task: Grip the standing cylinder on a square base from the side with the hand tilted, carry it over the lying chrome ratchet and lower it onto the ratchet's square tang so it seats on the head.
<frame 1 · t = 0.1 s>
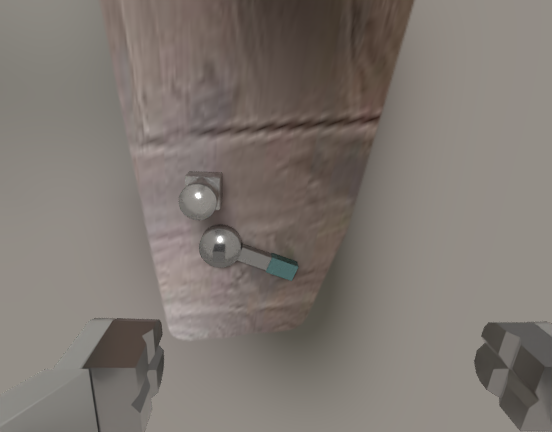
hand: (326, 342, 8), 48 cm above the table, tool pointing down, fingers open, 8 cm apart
ratchet: (221, 243, 59), on the table
cylinder on square base: (206, 187, 56), on the table
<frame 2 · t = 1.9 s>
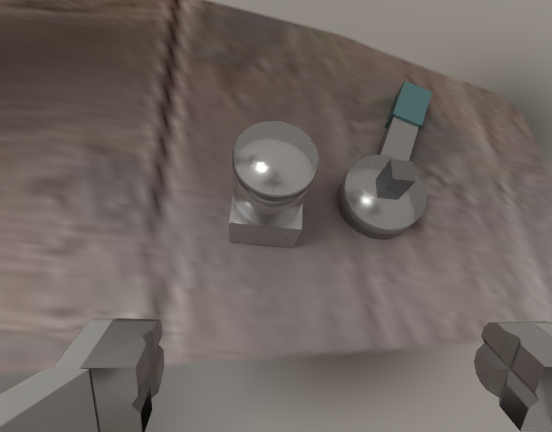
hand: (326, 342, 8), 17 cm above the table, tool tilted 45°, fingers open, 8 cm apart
ratchet: (375, 202, 30), on the table
cylinder on square base: (263, 216, 28), on the table
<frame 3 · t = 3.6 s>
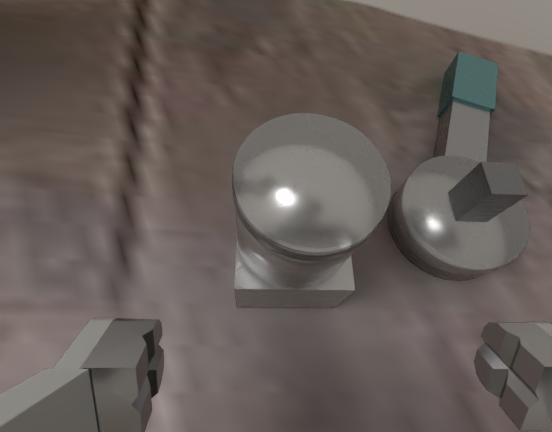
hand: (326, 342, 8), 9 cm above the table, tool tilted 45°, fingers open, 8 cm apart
ratchet: (443, 225, 21), on the table
cylinder on square base: (284, 261, 19), on the table
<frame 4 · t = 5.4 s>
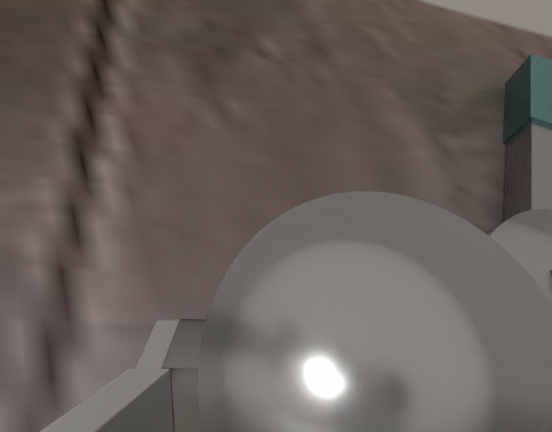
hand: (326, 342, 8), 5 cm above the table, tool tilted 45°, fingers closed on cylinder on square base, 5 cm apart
ratchet: (529, 308, 14), on the table
cylinder on square base: (299, 373, 12), on the table, touching gripper
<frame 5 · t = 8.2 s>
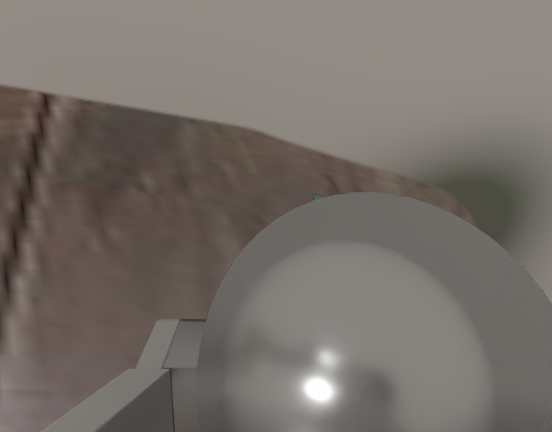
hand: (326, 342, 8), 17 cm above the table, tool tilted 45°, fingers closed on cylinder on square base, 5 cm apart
cylinder on square base: (299, 374, 12), point 12 cm above the table, touching gripper
when the fingers open (8 cm above the table, at t = 11.2 s): cylinder on square base stays where it is, resting on ratchet.
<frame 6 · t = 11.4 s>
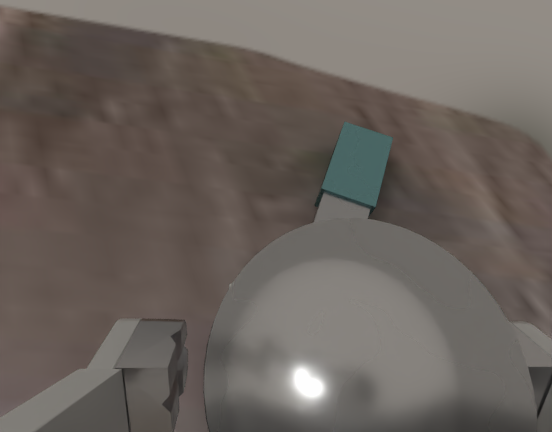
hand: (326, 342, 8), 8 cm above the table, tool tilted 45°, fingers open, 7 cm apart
ratchet: (289, 375, 16), on the table
cylinder on square base: (296, 375, 13), point 2 cm above the table, touching ratchet
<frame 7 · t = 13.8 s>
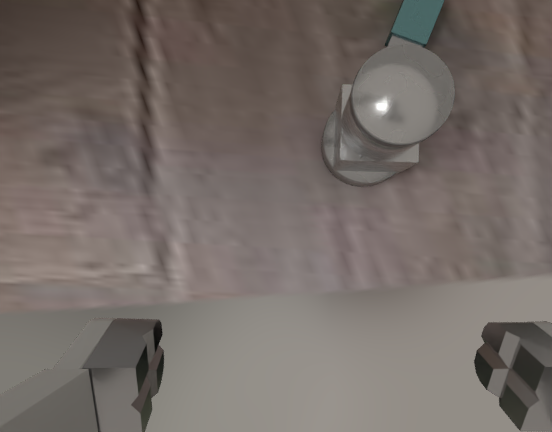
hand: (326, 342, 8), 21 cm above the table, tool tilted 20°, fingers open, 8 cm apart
ratchet: (361, 146, 29), on the table
cylinder on square base: (367, 138, 27), point 2 cm above the table, touching ratchet
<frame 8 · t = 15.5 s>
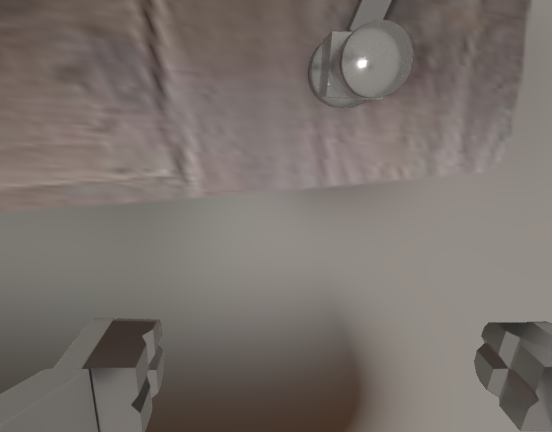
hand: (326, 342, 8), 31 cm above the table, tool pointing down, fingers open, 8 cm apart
ratchet: (340, 72, 35), on the table
cylinder on square base: (346, 70, 33), point 2 cm above the table, touching ratchet
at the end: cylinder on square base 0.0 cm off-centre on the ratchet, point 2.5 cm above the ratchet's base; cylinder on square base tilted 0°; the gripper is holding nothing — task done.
